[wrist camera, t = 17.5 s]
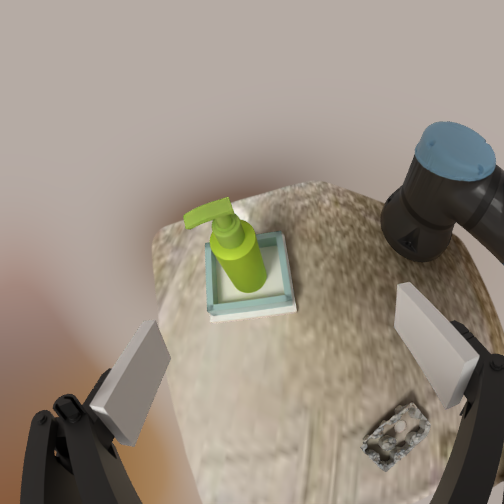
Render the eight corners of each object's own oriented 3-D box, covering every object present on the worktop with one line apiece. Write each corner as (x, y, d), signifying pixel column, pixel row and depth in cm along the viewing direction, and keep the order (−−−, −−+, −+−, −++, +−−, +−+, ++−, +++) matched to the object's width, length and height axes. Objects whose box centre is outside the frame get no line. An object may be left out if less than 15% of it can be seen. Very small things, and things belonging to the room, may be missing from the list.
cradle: (284, 237, 50) (283, 225, 46) (296, 312, 43) (296, 306, 40) (209, 249, 51) (202, 238, 47) (212, 323, 45) (204, 318, 41)
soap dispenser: (222, 269, 47) (178, 199, 30) (260, 255, 47) (237, 178, 30) (231, 300, 45) (187, 242, 27) (271, 286, 45) (253, 218, 27)
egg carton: (404, 397, 34) (414, 397, 31) (426, 425, 31) (437, 427, 27) (353, 441, 33) (359, 446, 29) (377, 468, 29) (385, 475, 26)
